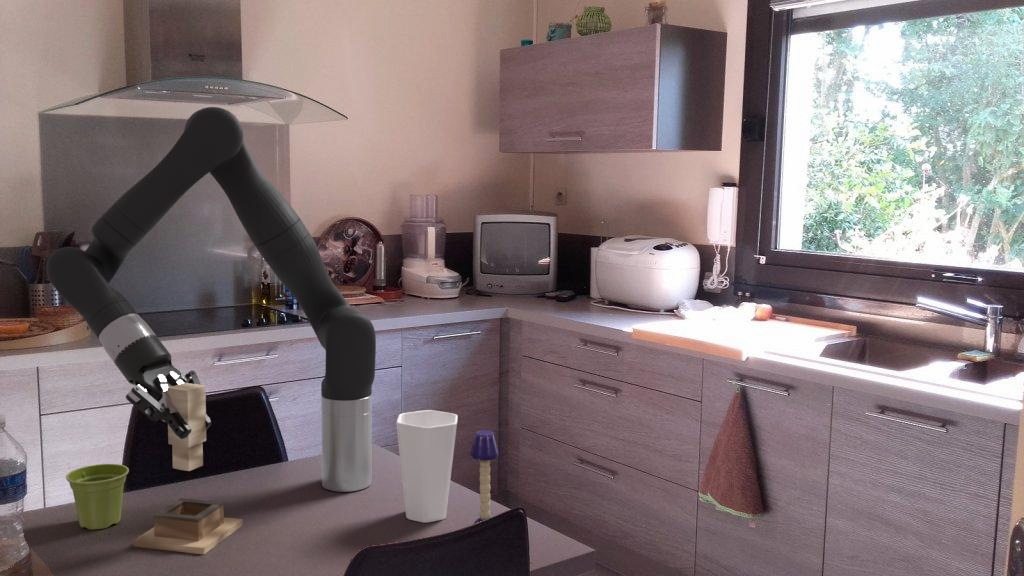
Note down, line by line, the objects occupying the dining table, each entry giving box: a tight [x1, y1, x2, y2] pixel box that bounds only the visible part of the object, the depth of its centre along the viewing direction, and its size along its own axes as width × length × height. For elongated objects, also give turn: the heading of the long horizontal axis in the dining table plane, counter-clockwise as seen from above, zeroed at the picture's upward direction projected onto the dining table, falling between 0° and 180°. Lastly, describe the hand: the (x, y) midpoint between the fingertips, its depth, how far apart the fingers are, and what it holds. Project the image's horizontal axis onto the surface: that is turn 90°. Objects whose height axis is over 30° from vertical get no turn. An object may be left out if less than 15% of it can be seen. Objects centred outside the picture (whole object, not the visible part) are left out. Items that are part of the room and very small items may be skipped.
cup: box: [395, 409, 458, 523], centre depth 154 cm, size 11×10×17 cm
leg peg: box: [167, 383, 207, 472], centre depth 142 cm, size 4×4×13 cm
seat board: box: [132, 497, 244, 555], centre depth 144 cm, size 12×12×4 cm
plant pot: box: [65, 463, 130, 530], centre depth 148 cm, size 9×9×9 cm
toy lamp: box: [469, 429, 499, 524], centre depth 148 cm, size 5×5×17 cm
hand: (196, 431), depth 141 cm, fingers closed on leg peg, 4 cm apart
